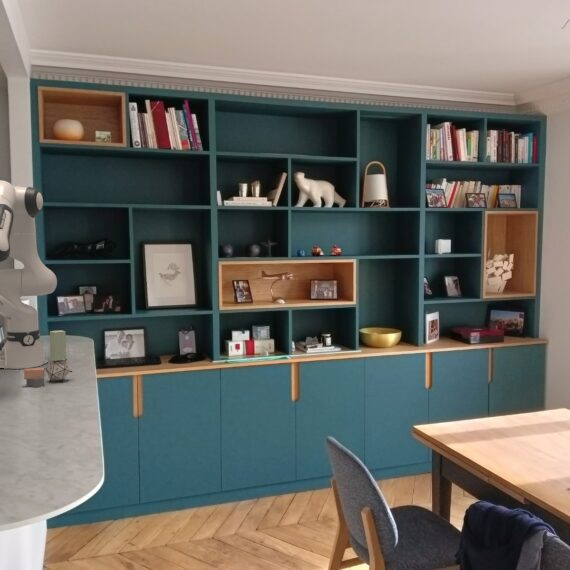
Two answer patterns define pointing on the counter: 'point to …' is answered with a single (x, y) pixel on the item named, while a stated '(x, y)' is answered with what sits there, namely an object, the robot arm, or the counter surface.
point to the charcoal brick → (35, 382)
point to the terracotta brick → (34, 373)
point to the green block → (58, 345)
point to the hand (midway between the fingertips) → (15, 319)
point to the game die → (58, 370)
